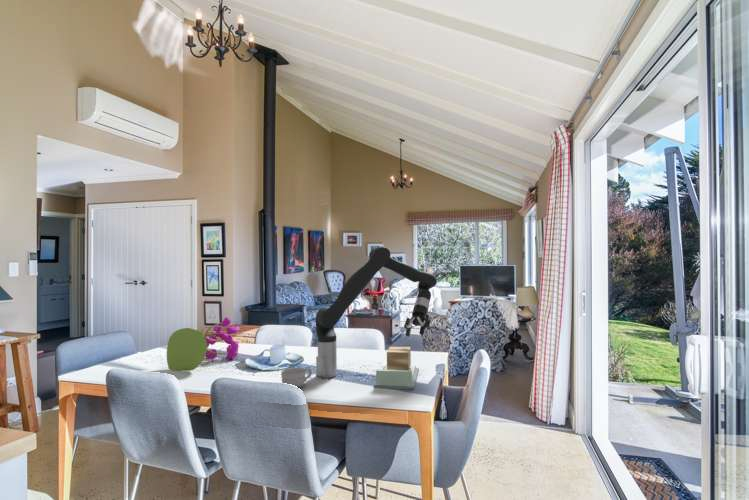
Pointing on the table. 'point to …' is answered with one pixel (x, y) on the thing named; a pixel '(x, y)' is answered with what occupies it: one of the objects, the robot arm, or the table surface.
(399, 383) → the roller track
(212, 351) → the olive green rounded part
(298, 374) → the teacup
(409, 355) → the wood grain cube
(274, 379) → the table surface
